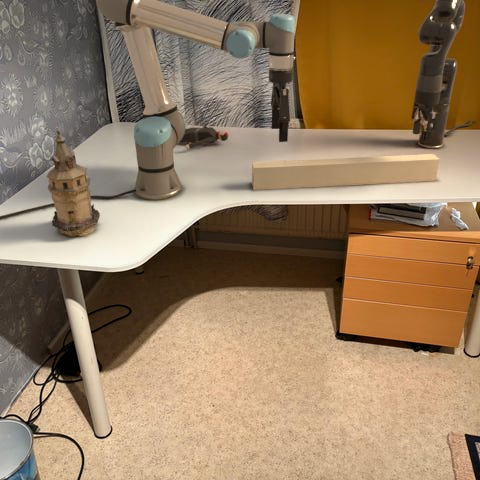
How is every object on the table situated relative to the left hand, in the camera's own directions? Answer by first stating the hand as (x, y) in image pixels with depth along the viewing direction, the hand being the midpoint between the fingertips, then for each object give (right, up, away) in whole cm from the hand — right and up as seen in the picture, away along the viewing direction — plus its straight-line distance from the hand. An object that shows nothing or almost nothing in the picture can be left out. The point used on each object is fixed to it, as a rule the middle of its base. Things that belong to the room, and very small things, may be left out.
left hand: (279, 134), depth 176 cm
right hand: (+47, -1, +1) cm, 47 cm away
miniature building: (-60, -31, -21) cm, 71 cm away
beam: (+22, -15, +6) cm, 28 cm away
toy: (-32, +5, +44) cm, 55 cm away
